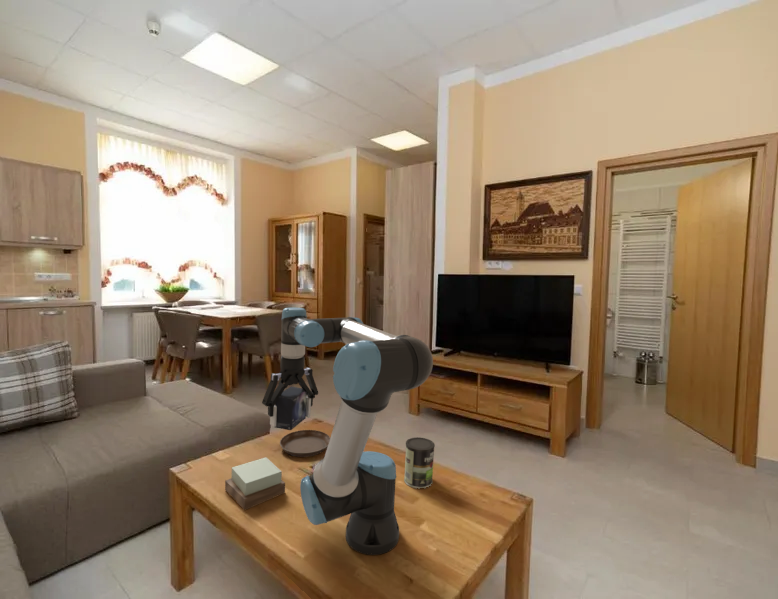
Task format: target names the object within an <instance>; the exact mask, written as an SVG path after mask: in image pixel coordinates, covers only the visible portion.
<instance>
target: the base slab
mask: <svg viewBox="0 0 778 599" xmlns="http://www.w3.org/2000/svg"><path fill="white" fill-rule="evenodd" d="M224 483H225V485H224V486H225V487H224V491H225V490H226V491H227V492H228V493H229V494H230V495H231V496H232V497H233V498H234V499H235V500H236V501H237V502H236V501H235V500H234V499H233V498H232V497H231V496H230V495H229V494H228V493H227V492H226V491H225V492H226V493H227V494H228V495H229V496H230V497H231V498H232V499H233V500H234V501H235V502H236V503H237V504H238V505H239V507H241V508H242V509H243V510H244V511H246V510H249V509H250V508H253V507H255V506H257V505H260V504H262V503H264V502H267V501H269V500H272V499H273V498H276V497H278V496H281V495H282V494H284V493H285V494H286V482H285V481H283V480H282V479H281V483H280V484H277V485H274V486H271V487H269V488H266V489H263V490H260V491H258V492H255V493H252V494H249V495H246V496H245V495H244V493H243V492H242V491H241V490H240V489H239V487H238V486H237V485H236V484H235V483H234V481H233V480H232V477H231V478H229V479H225V481H224ZM245 509H246V510H245Z"/></svg>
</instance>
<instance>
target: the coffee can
mask: <svg viewBox="0 0 778 599" xmlns="http://www.w3.org/2000/svg"><path fill="white" fill-rule="evenodd" d="M435 448H436V447H435V442H434V441H433V440H431V439H429V438H424V437H411V438H408V439H407V440H406V441H405V462H404V476H403V477H404V478H403V479H404V480H403V481H404V483H405V484H406V486H408V487H410V488H413V489H417V488H418V489H419V490H421V489H420V488H424V489H427V488H426V487H428V488H430V487H431V486H432V485H433V473H434V456H435ZM431 484H432V485H431ZM429 486H430V487H429ZM418 489H417V490H418Z"/></svg>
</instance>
